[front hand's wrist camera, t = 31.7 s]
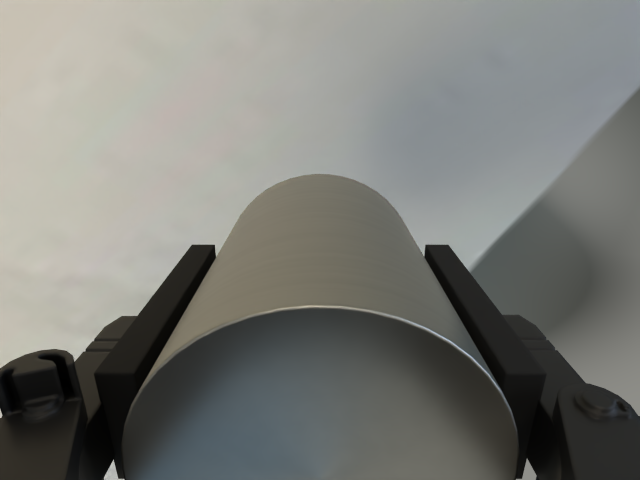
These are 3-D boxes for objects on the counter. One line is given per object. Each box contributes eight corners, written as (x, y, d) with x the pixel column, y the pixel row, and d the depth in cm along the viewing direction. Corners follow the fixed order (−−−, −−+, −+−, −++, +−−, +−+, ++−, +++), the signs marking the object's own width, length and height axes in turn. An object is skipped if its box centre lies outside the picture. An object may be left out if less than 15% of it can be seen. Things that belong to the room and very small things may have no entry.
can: (451, 243, 16) (607, 441, 7) (340, 370, 18) (359, 640, 9) (294, 133, 14) (256, 216, 6) (194, 285, 16) (56, 512, 8)
